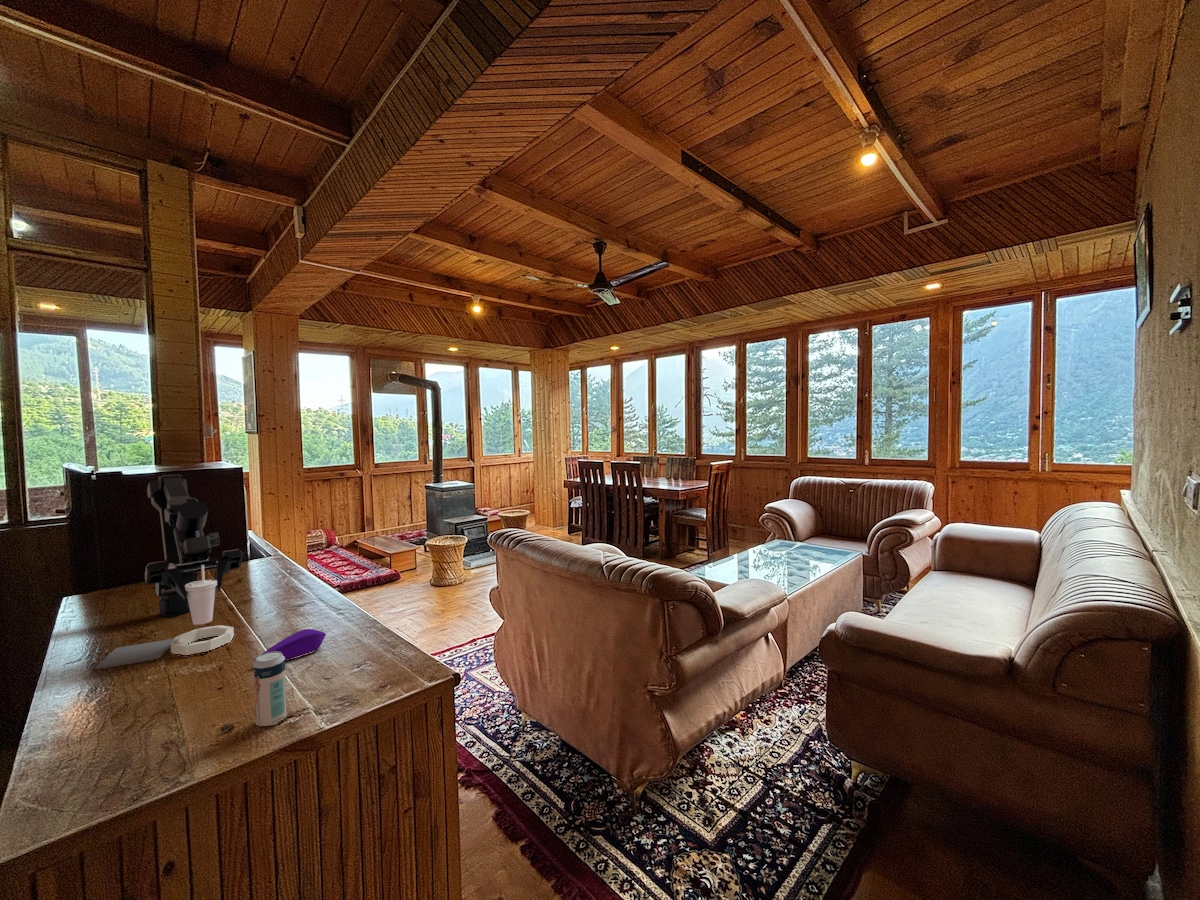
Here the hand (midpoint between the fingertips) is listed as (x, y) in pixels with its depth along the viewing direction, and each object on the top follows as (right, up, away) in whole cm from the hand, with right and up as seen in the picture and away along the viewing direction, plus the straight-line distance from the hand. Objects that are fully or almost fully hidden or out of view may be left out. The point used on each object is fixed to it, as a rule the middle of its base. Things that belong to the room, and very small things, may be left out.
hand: (202, 594), depth 120 cm
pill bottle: (+38, -14, -31) cm, 51 cm away
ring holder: (-1, -13, +1) cm, 13 cm away
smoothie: (-1, -7, +1) cm, 7 cm away
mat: (-13, -13, -3) cm, 19 cm away
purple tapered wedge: (+25, -13, -5) cm, 29 cm away
